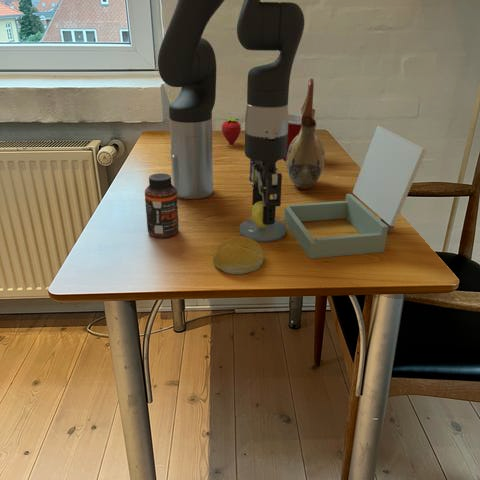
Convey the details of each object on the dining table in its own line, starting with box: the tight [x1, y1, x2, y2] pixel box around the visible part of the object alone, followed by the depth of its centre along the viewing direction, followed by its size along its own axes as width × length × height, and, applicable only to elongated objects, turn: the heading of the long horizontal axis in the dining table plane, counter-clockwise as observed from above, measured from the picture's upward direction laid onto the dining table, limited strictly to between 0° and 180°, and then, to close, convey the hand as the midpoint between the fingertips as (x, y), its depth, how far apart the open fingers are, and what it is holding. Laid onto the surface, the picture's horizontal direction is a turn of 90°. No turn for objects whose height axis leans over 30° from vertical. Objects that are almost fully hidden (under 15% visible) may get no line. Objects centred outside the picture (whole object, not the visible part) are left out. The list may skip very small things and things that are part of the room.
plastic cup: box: [282, 113, 317, 162], centre depth 129 cm, size 11×11×12 cm
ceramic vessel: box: [285, 78, 326, 190], centre depth 107 cm, size 16×9×25 cm, turn 173°
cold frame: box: [283, 193, 388, 260], centre depth 87 cm, size 14×16×5 cm
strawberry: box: [221, 112, 242, 146], centre depth 141 cm, size 6×8×10 cm
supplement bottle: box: [144, 172, 180, 239], centre depth 86 cm, size 6×6×11 cm
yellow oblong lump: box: [250, 201, 266, 228], centre depth 88 cm, size 4×8×4 cm, turn 173°
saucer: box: [239, 218, 287, 243], centre depth 89 cm, size 9×9×1 cm
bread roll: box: [212, 235, 265, 275], centre depth 78 cm, size 8×9×4 cm
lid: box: [351, 125, 427, 227], centre depth 84 cm, size 14×16×1 cm
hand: (263, 214), depth 88 cm, fingers closed on yellow oblong lump, 8 cm apart
